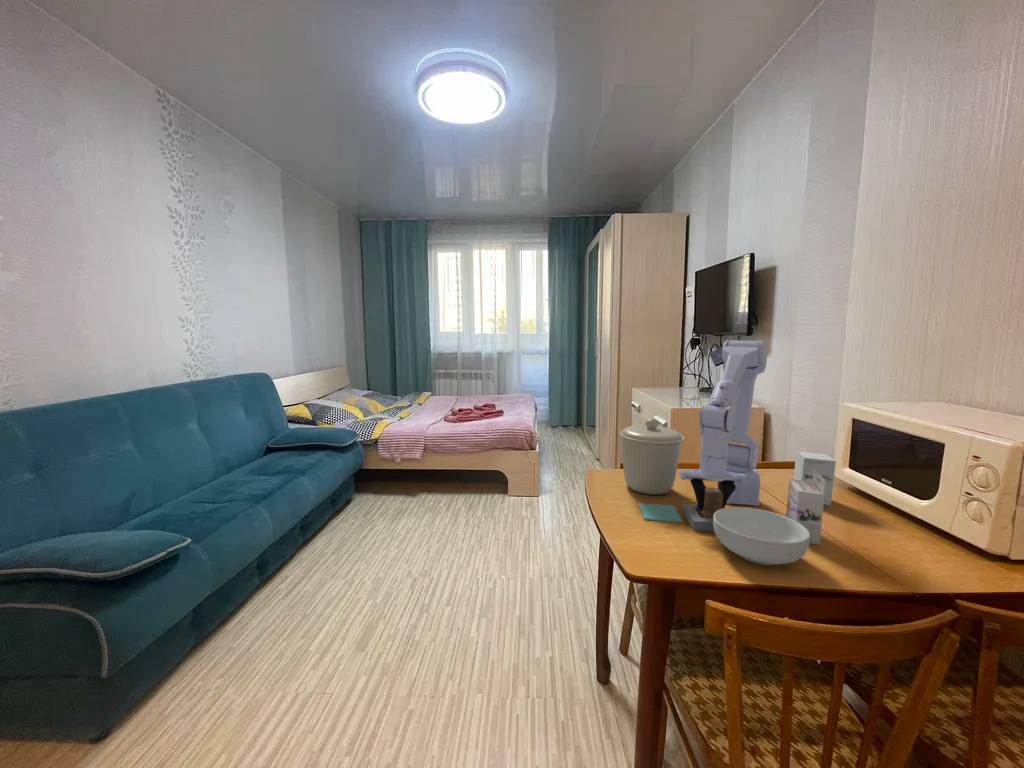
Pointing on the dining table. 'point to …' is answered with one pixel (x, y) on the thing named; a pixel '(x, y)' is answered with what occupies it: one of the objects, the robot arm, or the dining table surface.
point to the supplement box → (821, 465)
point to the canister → (650, 457)
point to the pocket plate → (697, 518)
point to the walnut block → (711, 502)
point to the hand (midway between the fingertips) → (709, 509)
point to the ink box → (807, 504)
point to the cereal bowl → (761, 535)
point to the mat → (660, 512)
